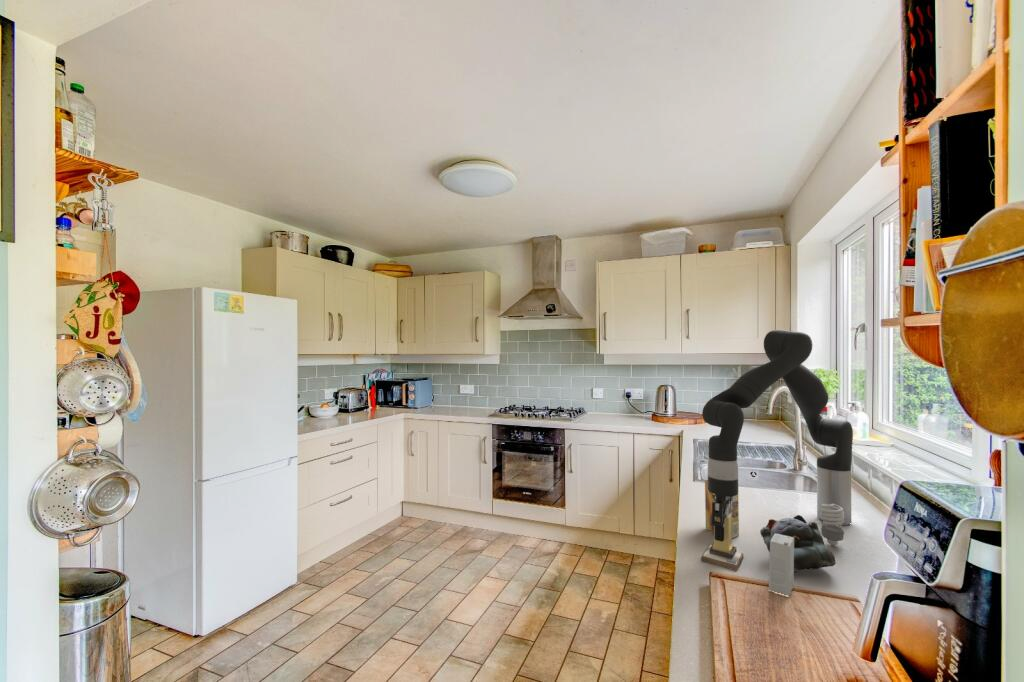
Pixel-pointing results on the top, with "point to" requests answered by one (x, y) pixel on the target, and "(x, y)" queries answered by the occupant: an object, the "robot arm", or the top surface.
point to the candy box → (708, 512)
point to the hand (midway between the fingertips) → (723, 535)
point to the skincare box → (781, 564)
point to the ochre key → (724, 549)
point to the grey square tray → (723, 558)
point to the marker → (727, 534)
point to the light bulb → (832, 523)
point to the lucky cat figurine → (801, 542)
